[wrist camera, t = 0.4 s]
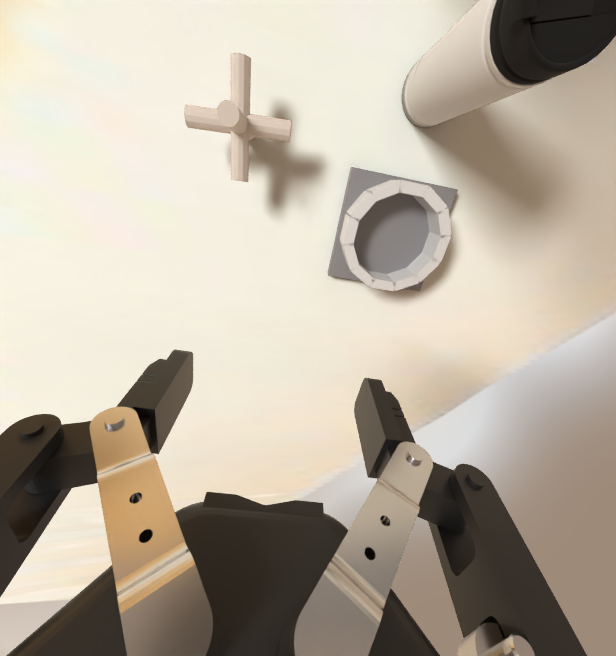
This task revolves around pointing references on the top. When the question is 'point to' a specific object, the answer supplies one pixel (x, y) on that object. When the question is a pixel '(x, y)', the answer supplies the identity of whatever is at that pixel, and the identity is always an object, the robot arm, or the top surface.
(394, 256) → the duct collar
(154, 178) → the top surface
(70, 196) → the top surface
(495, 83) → the travel mug
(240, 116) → the pipe connector
